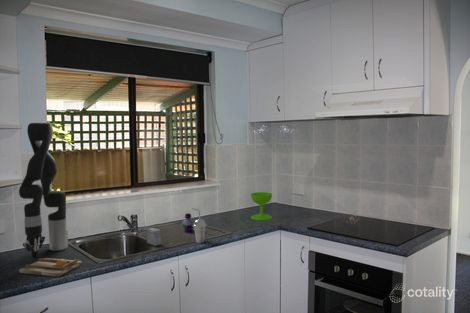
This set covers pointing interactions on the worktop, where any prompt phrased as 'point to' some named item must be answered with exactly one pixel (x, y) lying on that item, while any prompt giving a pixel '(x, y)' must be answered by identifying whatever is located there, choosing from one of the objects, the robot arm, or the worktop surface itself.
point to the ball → (61, 263)
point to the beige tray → (49, 267)
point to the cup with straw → (199, 228)
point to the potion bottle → (188, 223)
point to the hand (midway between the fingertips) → (35, 258)
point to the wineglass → (261, 204)
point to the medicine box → (153, 236)
